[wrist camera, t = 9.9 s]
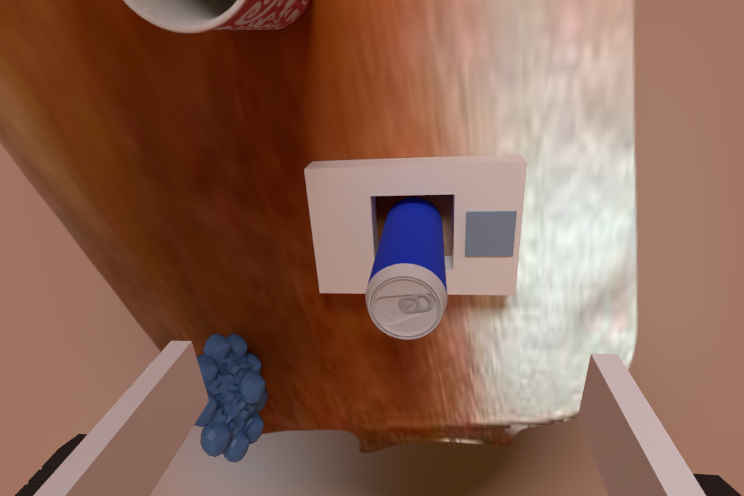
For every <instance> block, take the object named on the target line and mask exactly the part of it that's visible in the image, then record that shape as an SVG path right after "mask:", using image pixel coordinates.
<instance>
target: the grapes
mask: <svg viewBox="0 0 744 496" xmlns="http://www.w3.org/2000/svg"><path fill="white" fill-rule="evenodd" d="M203 353H204V354H203V355H200V356H197V357H196V358H197V361H198V365H199V368H200V371H201V375H202V378H203V381H204V385H205V388H206V391H207V395H208V398H209V402H208V403H207V405H206V406H205V408H204V410H203V411H202V413H201V414H200V416H199V418H198V419H197V421H196V422H195V425H196V426H201V427H203V426H204V428H203V431H202V434H201V445H202V447H203V450H204V451H205V452H206V453H207V454H208V455H210V456H214V457H216V456H218V455H220V454H222V453H223V455H224V457H226V458H227V459H228V461H231V462H237V461H239V460H241V459H242V458H243V457H244V455H245V454H246V452H247V449H248V446H249V444H252V443H254V442H256V441H257V440H258V438H259V437H260V436H261V433H262V430H263V425H264V423H263V420H262V418H261V416H260V415H259V414H258V413H257V412H259V411H261V410H262V409H263V407H264V406H265V404H266V401H267V396H268V392H267V390H266V389H265V381H264V380H263V378H262V376H261V375H260V371H261V362H260V360H259V358H258V357H257V356H256V355H254V354H252V353H247V343H246V342H245V340H244V339H243V338H242V337H241V336H239V335H236V334H233V335H230V336H228V337H227V338H225V337H224V336H223V335H220V334H214V335H211V336H210V337H209V338H208V339H207V340H206V343H205V345H204V352H203Z"/></svg>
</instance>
